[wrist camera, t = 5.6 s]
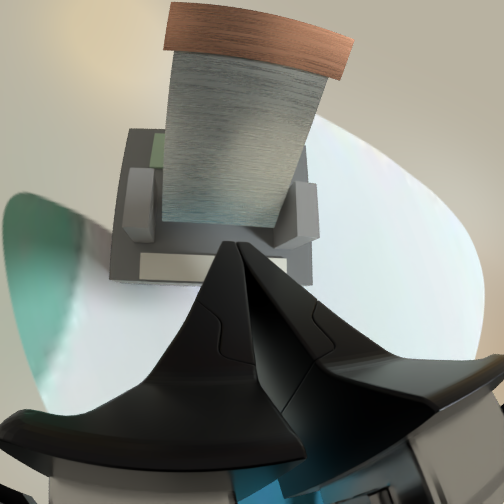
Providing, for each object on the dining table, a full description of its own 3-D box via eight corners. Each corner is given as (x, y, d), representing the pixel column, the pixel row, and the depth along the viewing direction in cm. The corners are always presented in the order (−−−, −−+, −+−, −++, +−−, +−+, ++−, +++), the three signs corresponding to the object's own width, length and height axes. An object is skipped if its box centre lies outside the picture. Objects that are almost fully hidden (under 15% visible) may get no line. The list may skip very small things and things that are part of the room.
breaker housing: (290, 287, 17) (343, 281, 12) (121, 282, 15) (91, 274, 9) (287, 166, 19) (329, 119, 13) (135, 153, 16) (122, 94, 11)
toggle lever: (281, 232, 13) (354, 39, 7) (154, 226, 12) (171, 1, 5) (272, 201, 14) (329, 31, 8) (159, 193, 13) (178, 3, 7)
